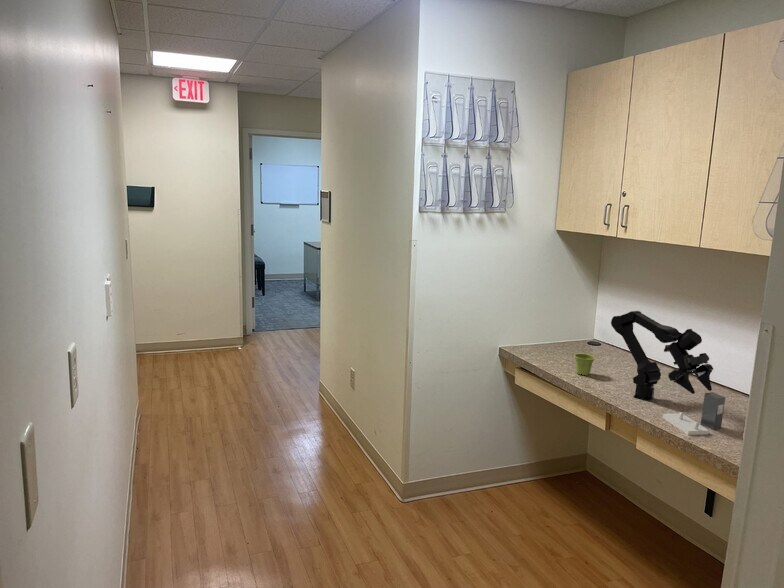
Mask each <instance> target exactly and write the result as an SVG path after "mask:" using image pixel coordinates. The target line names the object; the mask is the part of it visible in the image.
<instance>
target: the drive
mask: <svg viewBox="0 0 784 588" xmlns="http://www.w3.org/2000/svg"><path fill="white" fill-rule="evenodd" d="M725 402H726V397H725V396H724V395H720V394H718V393H715V392H712V391H709V392H707V393H704V397H703V403H702V412H701V418H700V425H701V426H703V427H704V428H706V429H709V428H710V430H712V431H717V430H721V429H722V425H723V418H724V411H725V410H724V409H725V404H726V403H725ZM716 429H717V430H716Z"/></svg>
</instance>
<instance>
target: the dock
mask: <svg viewBox="0 0 784 588" xmlns="http://www.w3.org/2000/svg"><path fill="white" fill-rule="evenodd" d="M662 418H663V419H664V420H666V421H667V422H669V423H670V425H671V424H672V425H673V426H674V427H675V428H677V429H679V430H680V431H682V432H683V433H685V434H686V435H688V436H692V435H693V436H696V435H709V434H710V433H709V431H710V430H708V428H707V427H705V426H703V425H701V424H700V422H698V421H695V420H694V419H692V418H690V417H689V416H687V415H685V414H684V412H683V411H682V412H679V413H663V414H662Z"/></svg>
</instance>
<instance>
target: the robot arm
mask: <svg viewBox="0 0 784 588" xmlns="http://www.w3.org/2000/svg"><path fill="white" fill-rule="evenodd" d="M635 323H636V324H637V325H638V326H639V325H640V326H641V327H642V328H644V329H646V330H647V331H649V332H651V333H652V334H654V337H655V338H656V339H657V340H658V341H659V342H660V343H662V344H665V346H664V349H663V352H664V353H667V352H669V353H670V355H671V356H672V358H673V360H674V362H673V364H674V366H675V365H676V366H677V368H675V369H673V370H672V371H670V372H669V373H668V375H667V377H668V379H669V381H670V382H673V383H676V384H677V385H679V386H680V387H681V388H683V389H686V390H685V391H688V392H689V393H691V394H692V395H693V394H694V395H695V393H696V392H695V389H694V387H693V385H692V382H691V381H690V379H689V378H690V375H695V376H696V379H697V380H698V381H699V382H700V383H701V384H702V385H703V386H704V387H705V389H706V390H708V391H709V392H712V389H713V388H712V383H711V376H710V375H711V373H712V372H713V370H714V366H713V365H712V364H710V363H709V361H710V357H709V355H708V354H707V353H706V352H703V353H702V352H701V353H699V355H697V356H694V355H693V354H690V353H689V352H688V351H691V350H693V349H694V348H696V347H697V346H699V345H700V344H701V343H702V342H703V339H702V336H701V335H700V334H699V333H697V332H696V331H694V330H693V329H692V328H687V329H686V330H685V331H684V332H680V331H679V329H677V328H676V327H672V326H669V325H665V324H662V323H660V322H658V321H656V320H654V319H652V318H651V317H649V316H647V315H646V314H644V313H642V311H639V310H632V311H629V312H627V313H624V314H620V315H614V316H612V318H611V322H610V324H611V327H612V329H614V331H615V332H616V333H617V334H619V335H620V336H621V337H622V339H623V340H624V342H625V344H626V346H627V348H628V350H629V352H630V354H631V355H632V358H633V359H634V361H635V363H636V365H637V367H636V372H637V375H635V376H634V377H632V379H633V380H632V382H633V383H634V384H635V393H634V395H633V398H636V399H639V400H644V401H647V402H648V401H649V402H650V401H651V400H652V399H654V397H655V388H654V386H655V385H657V384H658V382H659V381H660V379H661V376H662V373H661V368H659V366H658V364H657V362H656V361H650V359H649V358H648V357H647V355H646V353H645V351H644V349H643V347H642V345H641V344H640V342H639V340H638V338H637V336H636V334H635V333H634V324H635ZM669 343H670V344H669Z"/></svg>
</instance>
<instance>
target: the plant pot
mask: <svg viewBox="0 0 784 588" xmlns="http://www.w3.org/2000/svg"><path fill="white" fill-rule="evenodd" d="M573 356H574V359H575V373H576V372H577V373H578V374H577V373H576V374H577V375H579V374H580V375H581V374H582V376H584V375H585V376H589V375H590V373H591V370H592V366H593V363H594V360H596V358H595V357H596V356H594V355H591V354H588V353H575V354H574V355H573ZM588 374H589V375H588Z"/></svg>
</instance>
